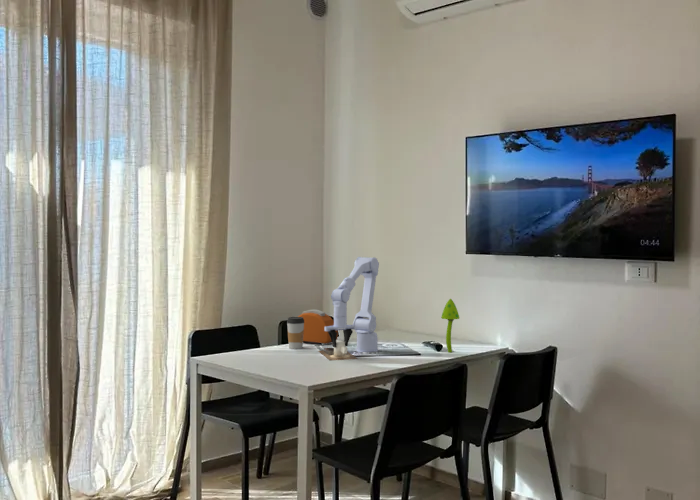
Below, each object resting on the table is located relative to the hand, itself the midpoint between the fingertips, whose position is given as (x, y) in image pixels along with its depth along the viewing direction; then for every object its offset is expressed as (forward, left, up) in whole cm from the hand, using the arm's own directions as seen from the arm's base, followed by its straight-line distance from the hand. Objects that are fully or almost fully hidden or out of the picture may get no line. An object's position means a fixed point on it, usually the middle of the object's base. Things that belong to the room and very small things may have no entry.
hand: (340, 346), depth 310 cm
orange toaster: (+3, -42, -6) cm, 42 cm away
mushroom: (-53, -1, -5) cm, 53 cm away
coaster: (0, 0, -5) cm, 5 cm away
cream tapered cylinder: (0, +1, -4) cm, 4 cm away
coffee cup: (+15, -27, -5) cm, 31 cm away
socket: (0, -10, -5) cm, 11 cm away
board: (0, -5, -5) cm, 7 cm away
